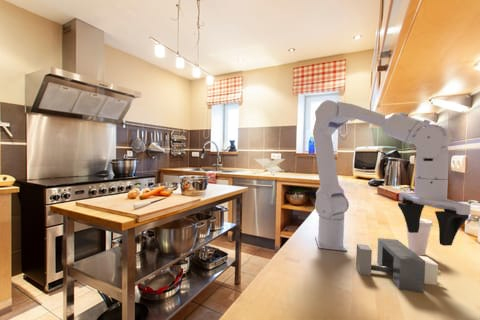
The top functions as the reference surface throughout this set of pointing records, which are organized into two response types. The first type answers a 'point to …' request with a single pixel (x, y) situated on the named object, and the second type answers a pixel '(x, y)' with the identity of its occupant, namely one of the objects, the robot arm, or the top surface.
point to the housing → (402, 264)
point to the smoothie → (419, 237)
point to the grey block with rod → (365, 267)
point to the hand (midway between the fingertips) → (428, 238)
